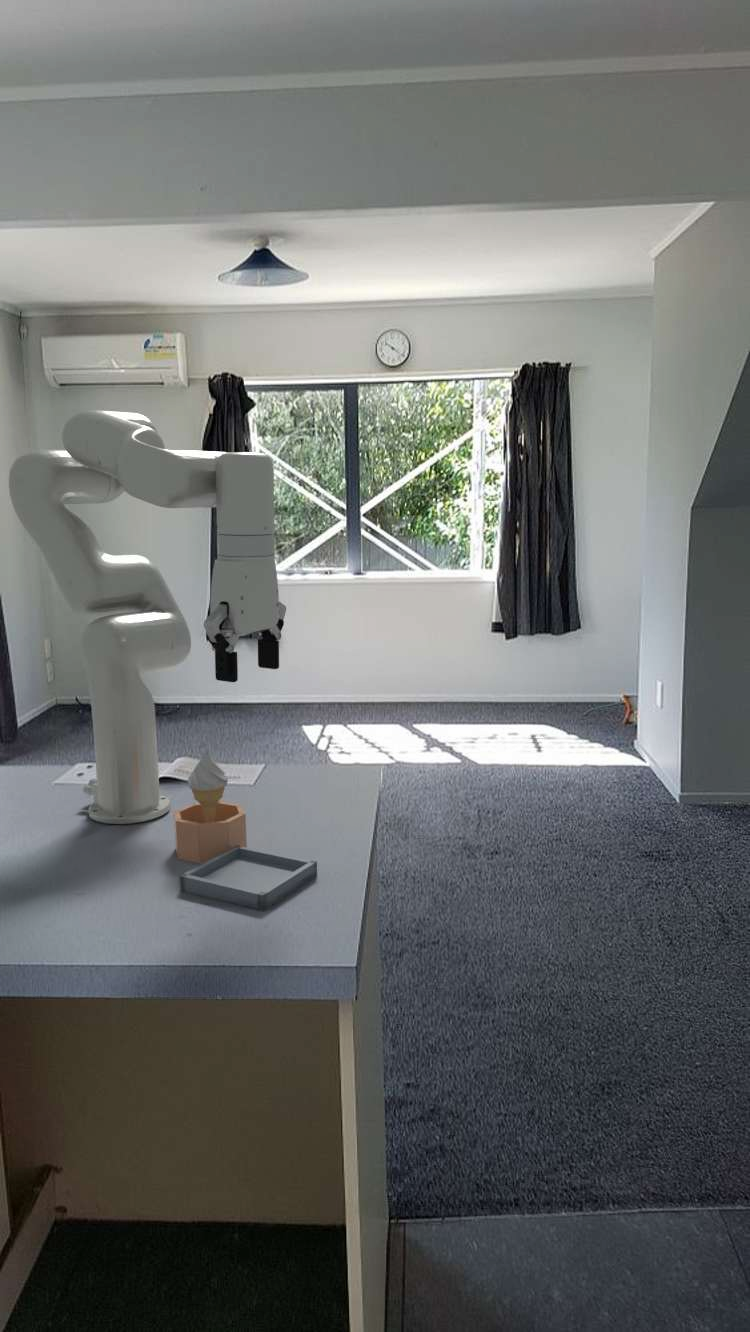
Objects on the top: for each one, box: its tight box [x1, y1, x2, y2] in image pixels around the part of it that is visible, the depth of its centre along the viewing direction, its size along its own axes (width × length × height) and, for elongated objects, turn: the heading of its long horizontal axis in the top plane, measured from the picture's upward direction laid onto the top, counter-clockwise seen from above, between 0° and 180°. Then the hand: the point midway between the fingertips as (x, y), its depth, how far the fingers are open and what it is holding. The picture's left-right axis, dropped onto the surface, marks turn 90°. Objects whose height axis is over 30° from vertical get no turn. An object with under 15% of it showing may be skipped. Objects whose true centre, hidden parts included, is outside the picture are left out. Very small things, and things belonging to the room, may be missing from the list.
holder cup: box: [173, 800, 248, 865], centre depth 135 cm, size 10×10×6 cm
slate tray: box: [179, 845, 318, 912], centre depth 124 cm, size 13×12×2 cm
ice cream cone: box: [186, 747, 229, 823], centre depth 134 cm, size 6×6×15 cm
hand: (248, 674), depth 130 cm, fingers open, 9 cm apart
